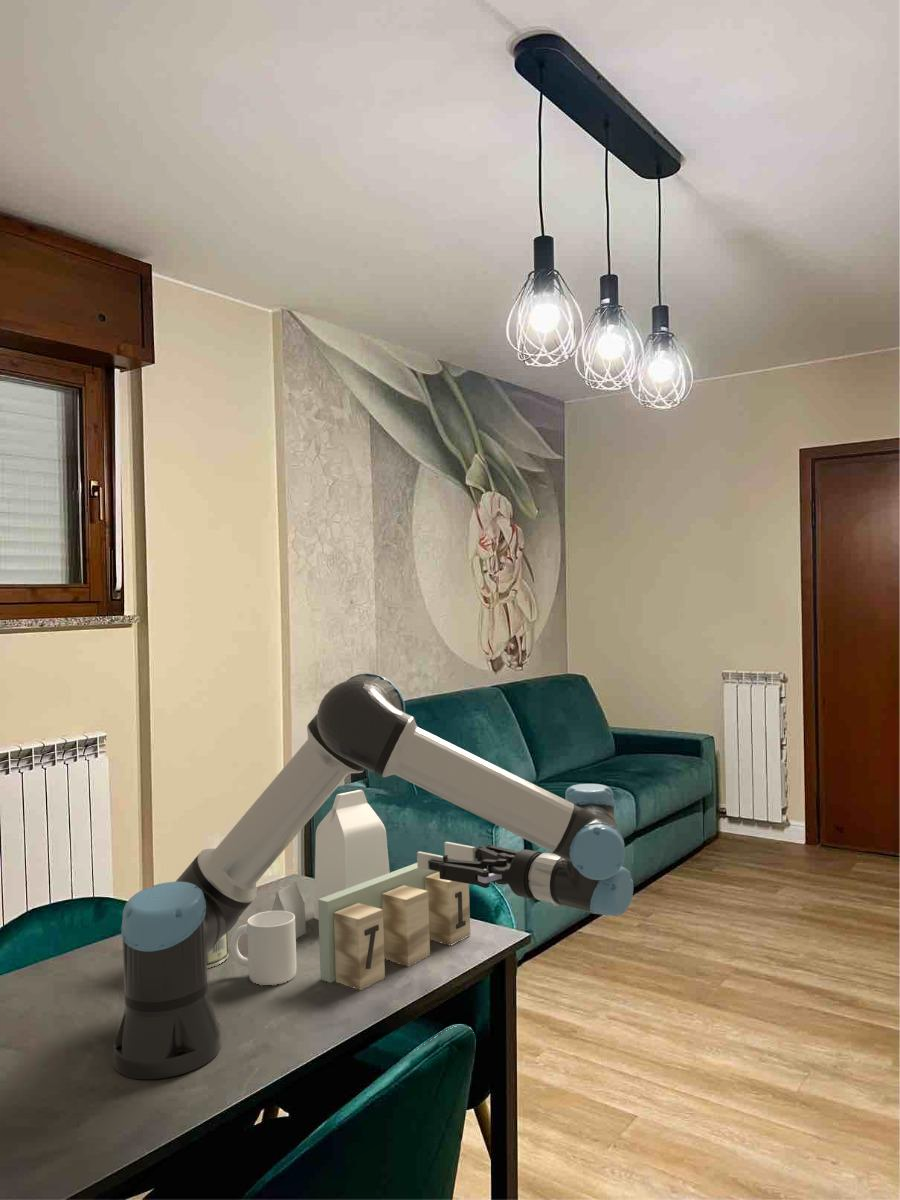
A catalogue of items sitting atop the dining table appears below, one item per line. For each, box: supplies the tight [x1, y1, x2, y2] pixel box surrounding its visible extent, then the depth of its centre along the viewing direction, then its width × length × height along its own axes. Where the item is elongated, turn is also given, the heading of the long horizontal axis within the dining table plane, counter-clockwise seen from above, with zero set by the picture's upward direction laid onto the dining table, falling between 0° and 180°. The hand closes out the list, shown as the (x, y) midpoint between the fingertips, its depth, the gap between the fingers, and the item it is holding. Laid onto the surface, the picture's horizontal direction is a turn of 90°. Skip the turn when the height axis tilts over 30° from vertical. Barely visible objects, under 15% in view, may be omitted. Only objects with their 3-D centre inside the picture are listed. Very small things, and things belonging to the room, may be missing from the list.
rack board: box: [318, 862, 437, 984], centre depth 169 cm, size 2×32×14 cm, turn 140°
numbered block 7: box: [334, 903, 386, 991], centre depth 157 cm, size 6×6×12 cm
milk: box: [313, 789, 391, 921], centre depth 189 cm, size 12×12×26 cm
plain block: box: [382, 885, 431, 967], centre depth 166 cm, size 6×6×12 cm
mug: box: [229, 910, 297, 986], centre depth 160 cm, size 12×8×10 cm
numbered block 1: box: [425, 872, 471, 946], centre depth 175 cm, size 6×6×12 cm
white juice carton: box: [270, 881, 306, 940], centre depth 178 cm, size 4×7×10 cm, turn 159°
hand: (432, 854), depth 162 cm, fingers open, 7 cm apart
